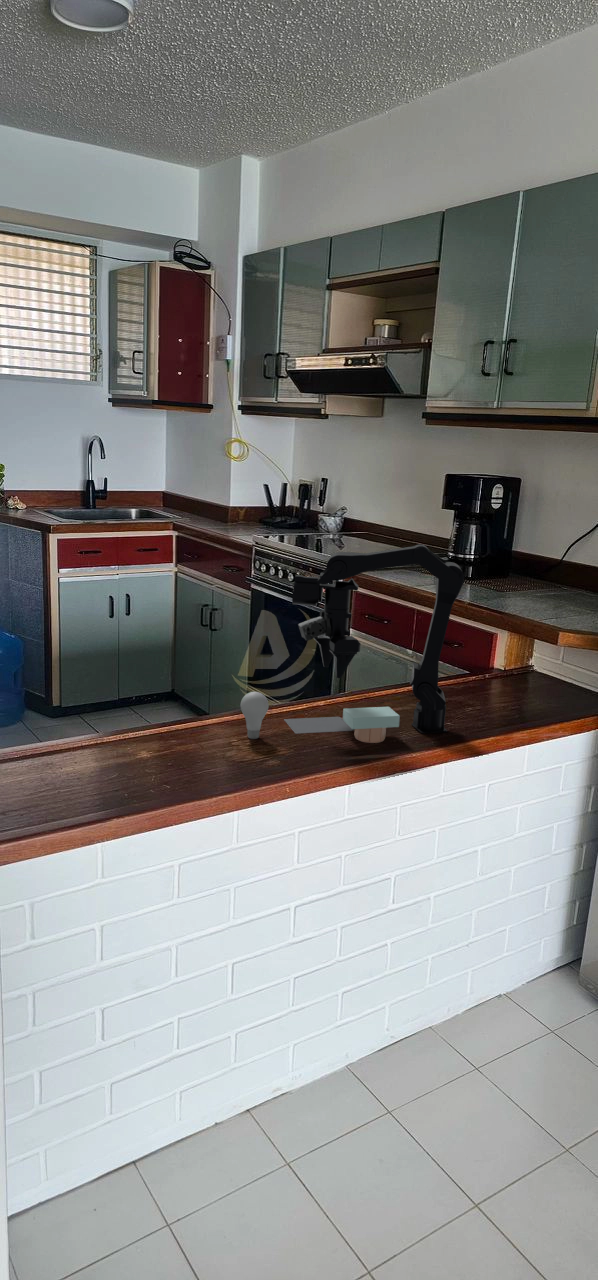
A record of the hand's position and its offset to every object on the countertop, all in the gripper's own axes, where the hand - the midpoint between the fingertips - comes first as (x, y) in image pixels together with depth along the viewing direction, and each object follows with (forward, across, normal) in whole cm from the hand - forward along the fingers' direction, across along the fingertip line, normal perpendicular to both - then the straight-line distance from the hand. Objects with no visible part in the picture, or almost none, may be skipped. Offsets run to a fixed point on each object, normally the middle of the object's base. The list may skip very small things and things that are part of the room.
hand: (332, 672), depth 205 cm
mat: (+12, +4, -4) cm, 13 cm away
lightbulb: (+12, +10, -21) cm, 26 cm away
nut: (+12, +14, +5) cm, 19 cm away
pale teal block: (+8, +14, +5) cm, 17 cm away
